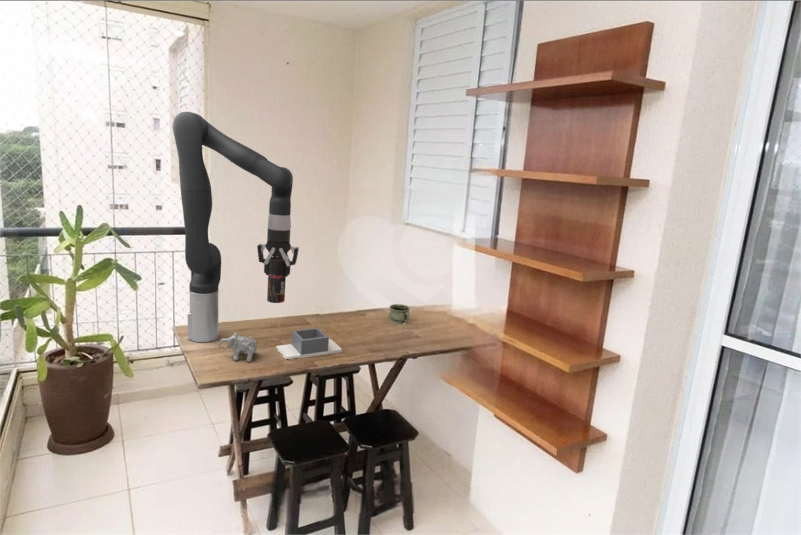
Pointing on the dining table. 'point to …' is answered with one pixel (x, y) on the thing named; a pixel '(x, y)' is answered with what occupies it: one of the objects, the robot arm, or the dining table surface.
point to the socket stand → (308, 344)
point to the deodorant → (276, 280)
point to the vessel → (399, 313)
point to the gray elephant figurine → (241, 345)
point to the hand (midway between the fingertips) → (277, 275)
